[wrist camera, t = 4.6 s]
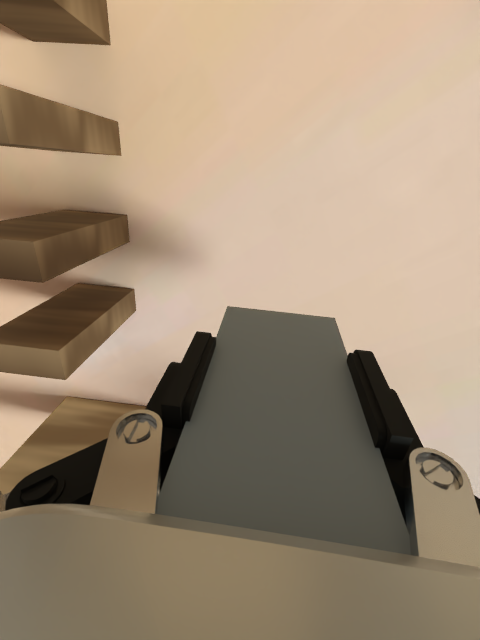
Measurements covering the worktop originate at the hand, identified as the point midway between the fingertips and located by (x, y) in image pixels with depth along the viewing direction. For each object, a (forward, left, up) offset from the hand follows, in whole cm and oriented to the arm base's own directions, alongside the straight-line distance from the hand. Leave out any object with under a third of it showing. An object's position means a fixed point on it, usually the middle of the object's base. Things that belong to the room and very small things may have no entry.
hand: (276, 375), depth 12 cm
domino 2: (-8, -14, -14) cm, 21 cm away
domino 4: (+4, -14, -14) cm, 20 cm away
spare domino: (0, 0, -3) cm, 3 cm away
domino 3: (-2, -14, -14) cm, 20 cm away
